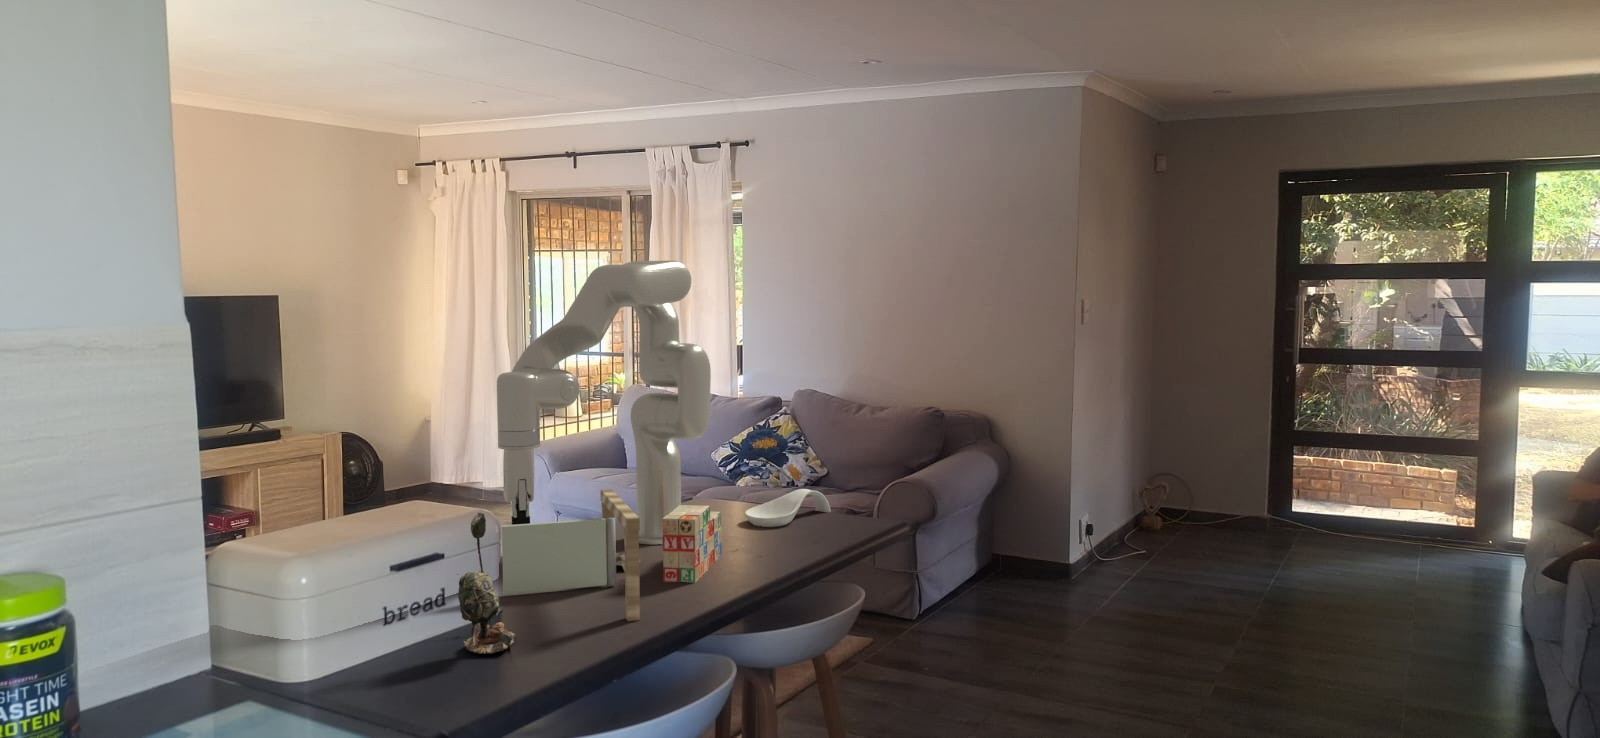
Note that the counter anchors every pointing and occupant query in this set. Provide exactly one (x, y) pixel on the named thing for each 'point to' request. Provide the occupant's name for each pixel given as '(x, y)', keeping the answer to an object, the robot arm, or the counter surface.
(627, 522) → the door frame
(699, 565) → the stack of blocks
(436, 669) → the counter surface
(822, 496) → the spoon rest
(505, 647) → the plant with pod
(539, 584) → the door
